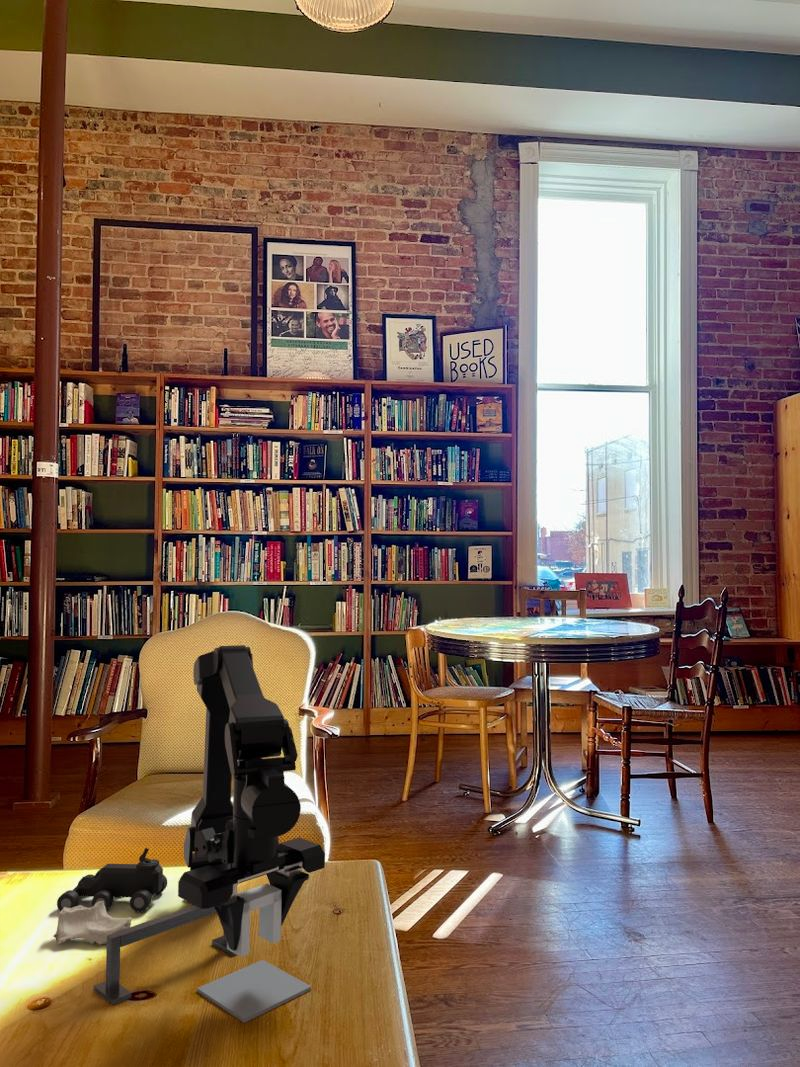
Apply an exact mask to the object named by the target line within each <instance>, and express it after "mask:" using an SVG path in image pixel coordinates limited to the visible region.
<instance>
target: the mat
mask: <svg viewBox="0 0 800 1067" xmlns="http://www.w3.org/2000/svg"><path fill="white" fill-rule="evenodd" d="M311 990H312V985H309V984H308V983H306V982H304V981H302V979H299V978H297V977H295V976H293V975H292V974H290V973H288V972H286V971H285V970H282V969H280V968H279V967H277V966H275V965H274V964H271V963H270V962H268V961H266V960H264V959H261V960H259V961H256V962H253V963H252V964H250V965H247V966H245V967H243V968H240V969H238V970H235V971H234V972H231V973H229V974H226V975H224V976H222V977H219V978H217V979H214V980H212V981H210V982H208V983H205V984H203V985H201V986H198V987H197V988H196V992H197V993H199V994H200V995H201V996H202V997H205V998H207V1000H209V1001H210V1002H212V1003H213V1004H215V1005H216V1006H218V1007H220V1009H222V1010H224V1011H226V1012H227V1013H228V1014H230V1015H232V1016H234V1017H235V1018H236V1019H238V1020H239V1021H241V1022H242V1023H244V1024H245V1023H247V1022H249V1021H251V1020H253V1019H255V1018H257V1017H259V1016H261V1015H263V1014H265V1013H267V1012H269V1011H271V1010H273V1009H275V1008H277V1007H279V1006H281V1005H284V1004H285V1003H287V1002H290V1001H292V1000H293V999H296V998H297V997H300V996H301V995H303V994H306V993H308V992H310V991H311Z"/></svg>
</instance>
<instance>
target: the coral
mask: <svg viewBox="0 0 800 1067" xmlns="http://www.w3.org/2000/svg"><path fill="white" fill-rule="evenodd" d="M132 920H133V918H132V917H131V916H129V917H121V918H117V917H111V915H109V914H108V912H107V911H106V907H105V905H104V901H99V902H97V903H95V905H94V906H93V907H92V906H91V907H86V906H83V905H82V904H79V905H78V906H76V907H73V908H66V907H64V908H63V909H62V910H61V912H60V911H59V913H58V918H57V927H56V931H55V933H54V935H53V938H55V941H56V943H57V945H60V944H63V943H65V942H67V941H73V940H76V939H84V941H86V942H87V943H90V944H91V945H93V944H94V943H96V944H98V945H103V944H105V945H107V935H110V934H113V933H116V932H118V931H121V930H124V929H126V928H129V927H131V924H132Z"/></svg>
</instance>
